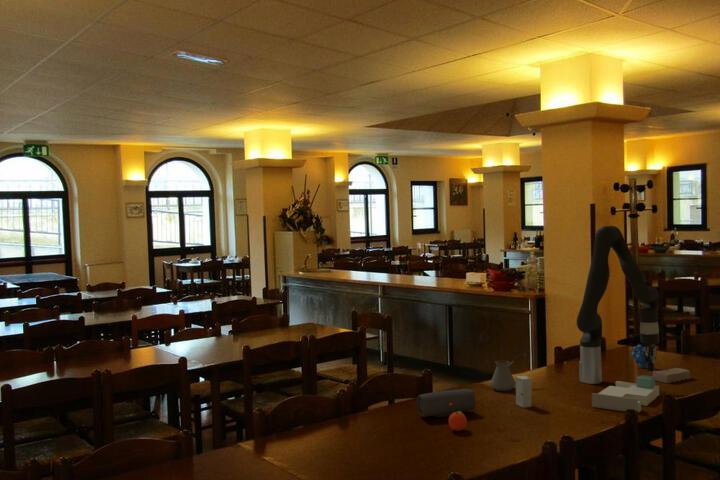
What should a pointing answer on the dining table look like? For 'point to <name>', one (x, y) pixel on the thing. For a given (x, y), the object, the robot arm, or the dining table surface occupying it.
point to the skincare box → (523, 391)
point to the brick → (671, 375)
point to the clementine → (457, 421)
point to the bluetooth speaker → (445, 402)
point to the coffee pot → (503, 375)
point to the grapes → (639, 356)
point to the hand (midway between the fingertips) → (651, 370)
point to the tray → (624, 397)
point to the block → (645, 381)
